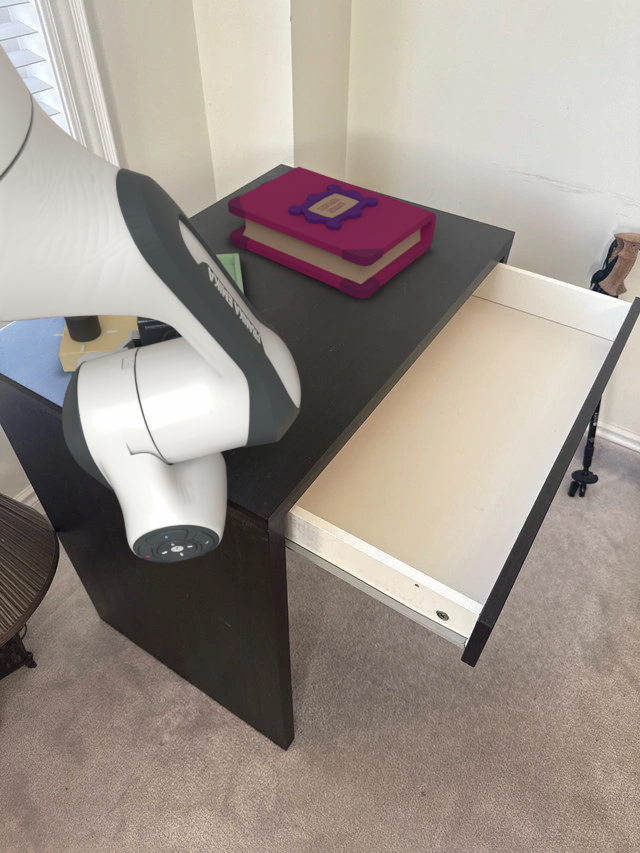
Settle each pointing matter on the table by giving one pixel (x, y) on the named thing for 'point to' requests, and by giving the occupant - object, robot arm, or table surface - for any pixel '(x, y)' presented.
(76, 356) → the panel
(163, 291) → the robot arm
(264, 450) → the table surface
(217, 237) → the table surface
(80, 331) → the dial
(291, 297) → the table surface
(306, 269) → the book
